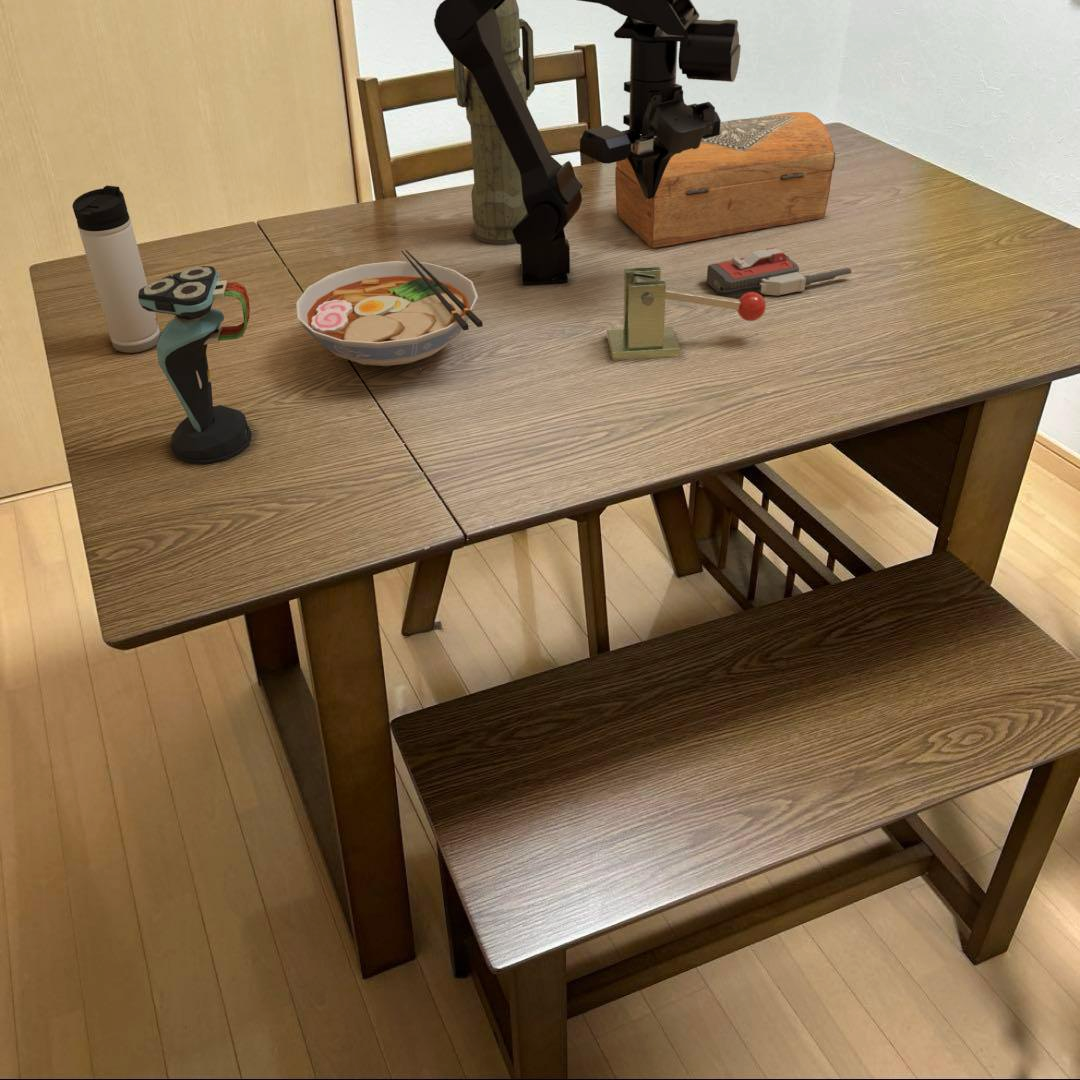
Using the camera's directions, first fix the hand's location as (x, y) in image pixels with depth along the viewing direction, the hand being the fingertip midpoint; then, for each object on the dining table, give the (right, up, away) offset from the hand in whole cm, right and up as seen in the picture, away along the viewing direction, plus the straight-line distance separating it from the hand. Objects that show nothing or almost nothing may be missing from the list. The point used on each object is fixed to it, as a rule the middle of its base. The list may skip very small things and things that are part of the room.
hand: (649, 197), depth 150 cm
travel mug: (-68, -19, 0) cm, 71 cm away
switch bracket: (-1, -21, -5) cm, 22 cm away
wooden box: (+14, +5, +28) cm, 31 cm away
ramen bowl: (-33, -21, -4) cm, 40 cm away
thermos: (-20, +2, +25) cm, 32 cm away
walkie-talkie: (+18, -10, +8) cm, 22 cm away
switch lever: (+5, -17, -8) cm, 19 cm away
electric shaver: (-51, -34, -20) cm, 65 cm away
